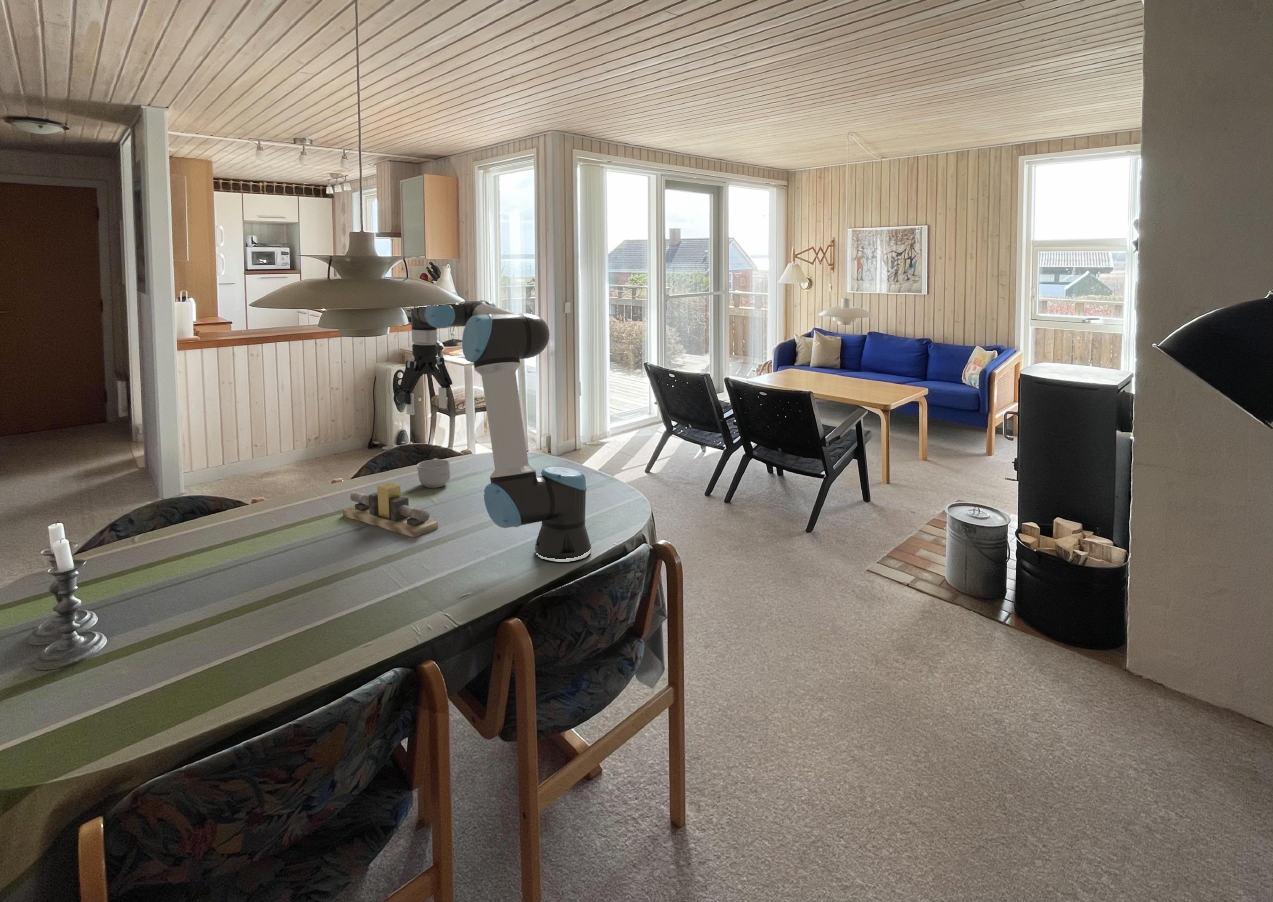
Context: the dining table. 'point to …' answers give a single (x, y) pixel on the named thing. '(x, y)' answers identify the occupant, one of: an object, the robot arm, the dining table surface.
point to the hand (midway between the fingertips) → (427, 411)
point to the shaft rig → (401, 515)
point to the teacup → (434, 472)
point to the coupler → (387, 498)
